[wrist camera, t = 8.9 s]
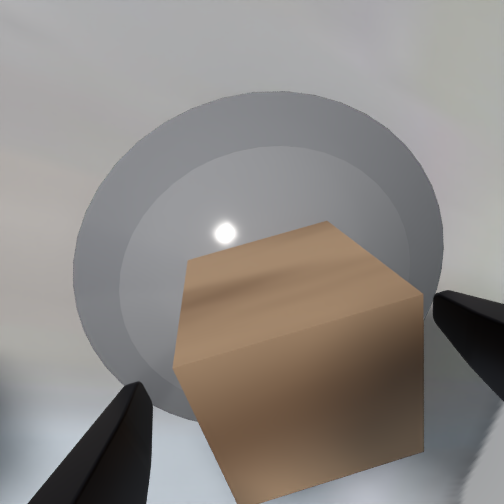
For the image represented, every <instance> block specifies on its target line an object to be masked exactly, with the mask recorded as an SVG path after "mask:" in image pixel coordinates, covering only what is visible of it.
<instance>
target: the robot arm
mask: <svg viewBox="0 0 504 504" xmlns="http://www.w3.org/2000/svg"><path fill="white" fill-rule="evenodd" d="M433 318H434V321H435V323H436V324H437V326H438V327H439V328H440V329H441V331H442V332H443V333H444V334H445V336H446V337H447V338H448V339H449V341H450V342H451V343H452V344H453V346H454V347H455V348H456V350H457V351H458V352H459V353H460V355H461V356H462V357H463V358H464V360H465V361H466V362H467V363H468V364H469V366H470V367H471V368H472V369H473V370H474V371H475V372H476V373H477V374H478V375H479V376H480V377H481V378H482V380H483V381H484V382H485V383H486V384H487V385H488V386H489V387H490V388H491V389H492V390H493V391H494V392H495V393H496V394H497V395H498V396H499V397H500V398H501V399H502V400H503V401H504V304H501V303H497V302H494V301H490V300H486V299H482V298H478V297H474V296H470V295H466V294H462V293H458V292H454V291H450V290H446V291H443V292H439V293H436V294H435V295H434V297H433ZM152 421H153V404H152V400H151V398H150V396H149V395H148V393H147V391H146V389H145V387H144V385H143V384H142V383H141V382H140V381H137V382H133V383H130V384H127V385H125V386H124V387H123V388H122V390H121V391H120V392H119V393H118V394H117V396H116V397H115V398H114V399H113V400H112V402H111V403H110V404H109V405H108V407H107V408H106V409H105V410H104V411H103V413H102V414H101V415H100V416H99V417H98V419H97V420H96V421H95V422H94V424H93V425H92V426H91V427H90V428H89V430H88V431H87V432H86V433H85V434H84V436H83V437H82V438H81V439H80V441H79V442H78V443H77V444H76V445H75V447H74V448H73V449H72V450H71V452H70V453H69V454H68V455H67V456H66V458H65V459H64V460H63V461H62V462H61V464H60V465H59V466H58V467H57V469H56V470H55V471H54V472H53V473H52V475H51V476H50V477H49V478H48V479H47V481H46V482H45V483H44V484H43V486H42V487H41V488H40V489H39V490H38V492H37V493H36V494H35V495H34V496H33V498H32V499H31V500H30V501H29V503H28V504H146V501H147V493H148V486H149V478H150V469H151V456H152Z"/></svg>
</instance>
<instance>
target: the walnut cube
mask: <svg viewBox="0 0 504 504" xmlns="http://www.w3.org/2000/svg"><path fill="white" fill-rule="evenodd" d="M173 371H174V373H175V375H176V377H177V379H178V381H179V383H180V385H181V387H182V389H183V391H184V394H185V396H186V398H187V400H188V402H189V404H190V406H191V408H192V410H193V412H194V414H195V417H196V419H197V421H198V423H199V425H200V427H201V429H202V431H203V433H204V435H205V437H206V440H207V442H208V444H209V446H210V448H211V450H212V452H213V454H214V456H215V458H216V460H217V463H218V465H219V467H220V469H221V471H222V473H223V475H224V477H225V479H226V481H227V483H228V486H229V488H230V490H231V492H232V494H233V496H234V498H235V500H236V502H237V504H259V503H263V502H266V501H269V500H272V499H275V498H278V497H282V496H285V495H288V494H291V493H294V492H297V491H301V490H304V489H307V488H310V487H313V486H316V485H320V484H323V483H326V482H329V481H332V480H335V479H339V478H342V477H345V476H348V475H351V474H354V473H358V472H361V471H364V470H367V469H370V468H373V467H377V466H380V465H383V464H386V463H389V462H392V461H396V460H399V459H402V458H405V457H408V456H412V455H415V454H418V453H421V452H424V322H423V293H421V292H420V291H419V290H418V289H416V288H415V287H414V286H412V285H411V284H410V283H408V282H407V281H406V280H404V279H403V278H402V277H400V276H399V275H398V274H397V273H395V272H394V271H393V270H391V269H390V268H389V267H387V266H386V265H385V264H383V263H382V262H381V261H379V260H378V259H377V258H376V257H374V256H373V255H372V254H370V253H369V252H368V251H366V250H365V249H364V248H362V247H361V246H360V245H358V244H357V243H356V242H355V241H353V240H352V239H351V238H349V237H348V236H347V235H345V234H344V233H343V232H341V231H340V230H339V229H337V228H336V227H335V226H334V225H332V224H331V223H330V222H328V221H324V222H320V223H317V224H313V225H310V226H306V227H303V228H299V229H296V230H292V231H289V232H285V233H282V234H278V235H275V236H271V237H267V238H264V239H260V240H257V241H253V242H250V243H246V244H243V245H239V246H236V247H232V248H229V249H225V250H222V251H218V252H215V253H211V254H208V255H204V256H201V257H197V258H193V259H190V260H188V262H187V269H186V276H185V283H184V290H183V297H182V304H181V311H180V318H179V325H178V332H177V340H176V347H175V354H174V361H173Z"/></svg>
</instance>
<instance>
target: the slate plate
mask: <svg viewBox="0 0 504 504" xmlns="http://www.w3.org/2000/svg"><path fill="white" fill-rule="evenodd" d="M324 221H328V222H330V223H331V224H332V225H334V226H335V227H336V228H337V229H339V230H340V231H341V232H343V233H344V234H345V235H347V236H348V237H349V238H351V239H352V240H353V241H355V242H356V243H357V244H358V245H360V246H361V247H362V248H364V249H365V250H366V251H368V252H369V253H370V254H372V255H373V256H374V257H376V258H377V259H378V260H379V261H381V262H382V263H383V264H385V265H386V266H387V267H389V268H390V269H391V270H393V271H394V272H395V273H397V274H398V275H399V276H400V277H402V278H403V279H404V280H406V281H407V282H408V283H410V284H411V285H412V286H414V287H415V288H416V289H418V290H419V291H420V292H421V293H423V321H424V319H425V317H426V315H427V313H428V311H429V309H430V306H431V304H432V301H433V297H434V295H435V293H436V290H437V286H438V282H439V278H440V273H441V269H442V260H443V250H444V245H443V226H442V220H441V215H440V209H439V205H438V202H437V199H436V196H435V193H434V190H433V188H432V185H431V183H430V181H429V179H428V177H427V176H426V174H425V172H424V170H423V168H422V166H421V165H420V163H419V162H418V161H417V159H416V158H415V157H414V155H413V154H412V153H411V151H410V150H409V149H408V147H407V146H406V145H405V144H404V143H403V142H402V141H401V140H399V139H398V138H397V137H396V136H395V135H394V134H393V133H392V132H391V131H390V130H389V129H388V128H386V127H385V126H383V125H382V124H380V123H379V122H377V121H376V120H374V119H373V118H371V117H370V116H368V115H367V114H365V113H363V112H361V111H358V110H356V109H354V108H352V107H350V106H348V105H345V104H343V103H341V102H337V101H334V100H330V99H327V98H323V97H320V96H316V95H310V94H302V93H294V92H285V91H279V92H252V93H247V94H242V95H236V96H231V97H225V98H221V99H218V100H215V101H212V102H209V103H206V104H203V105H201V106H198V107H195V108H192V109H190V110H188V111H186V112H184V113H182V114H180V115H178V116H176V117H175V118H173V119H171V120H169V121H167V122H165V123H163V124H162V125H160V126H159V127H158V128H156V129H155V130H154V131H152V132H151V133H149V134H148V135H147V136H145V137H144V138H142V139H141V140H140V141H138V142H137V143H136V144H135V145H134V146H133V147H132V148H131V149H130V150H129V151H128V152H127V153H126V154H125V155H124V156H123V157H122V158H121V159H120V160H119V161H118V162H117V163H116V164H115V166H114V167H113V168H112V170H111V171H110V173H109V174H108V175H107V177H106V178H105V179H104V181H103V182H102V183H101V185H100V186H99V188H98V190H97V191H96V193H95V195H94V197H93V199H92V201H91V203H90V205H89V207H88V208H87V210H86V213H85V216H84V219H83V222H82V225H81V228H80V231H79V234H78V237H77V243H76V249H75V255H74V260H73V288H74V294H75V300H76V307H77V311H78V314H79V317H80V320H81V323H82V326H83V329H84V332H85V334H86V336H87V338H88V340H89V342H90V344H91V346H92V348H93V349H94V351H95V352H96V354H97V355H98V357H99V358H100V359H101V361H102V362H103V364H104V365H105V366H106V368H107V369H108V370H109V371H110V372H111V373H112V374H113V375H114V376H115V377H116V378H117V379H118V380H119V381H120V382H121V383H122V384H123V385H124V386H125V385H127V384H130V383H133V382H137V381H140V382H141V383H142V384H143V385H144V387H145V389H146V391H147V393H148V395H149V396H150V398H151V400H152V404H153V406H156V407H158V408H160V409H162V410H164V411H166V412H168V413H171V414H173V415H176V416H179V417H182V418H185V419H188V420H192V421H197V419H196V417H195V414H194V412H193V410H192V408H191V406H190V404H189V402H188V400H187V398H186V396H185V394H184V391H183V389H182V387H181V385H180V383H179V381H178V379H177V377H176V375H175V373H174V371H173V361H174V354H175V347H176V340H177V332H178V325H179V318H180V311H181V304H182V297H183V290H184V283H185V276H186V269H187V262H188V260H190V259H193V258H197V257H201V256H204V255H208V254H211V253H215V252H218V251H222V250H225V249H229V248H232V247H236V246H239V245H243V244H246V243H250V242H253V241H257V240H260V239H264V238H267V237H271V236H275V235H278V234H282V233H285V232H289V231H292V230H296V229H299V228H303V227H306V226H310V225H313V224H317V223H320V222H324ZM197 422H198V421H197Z"/></svg>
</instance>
